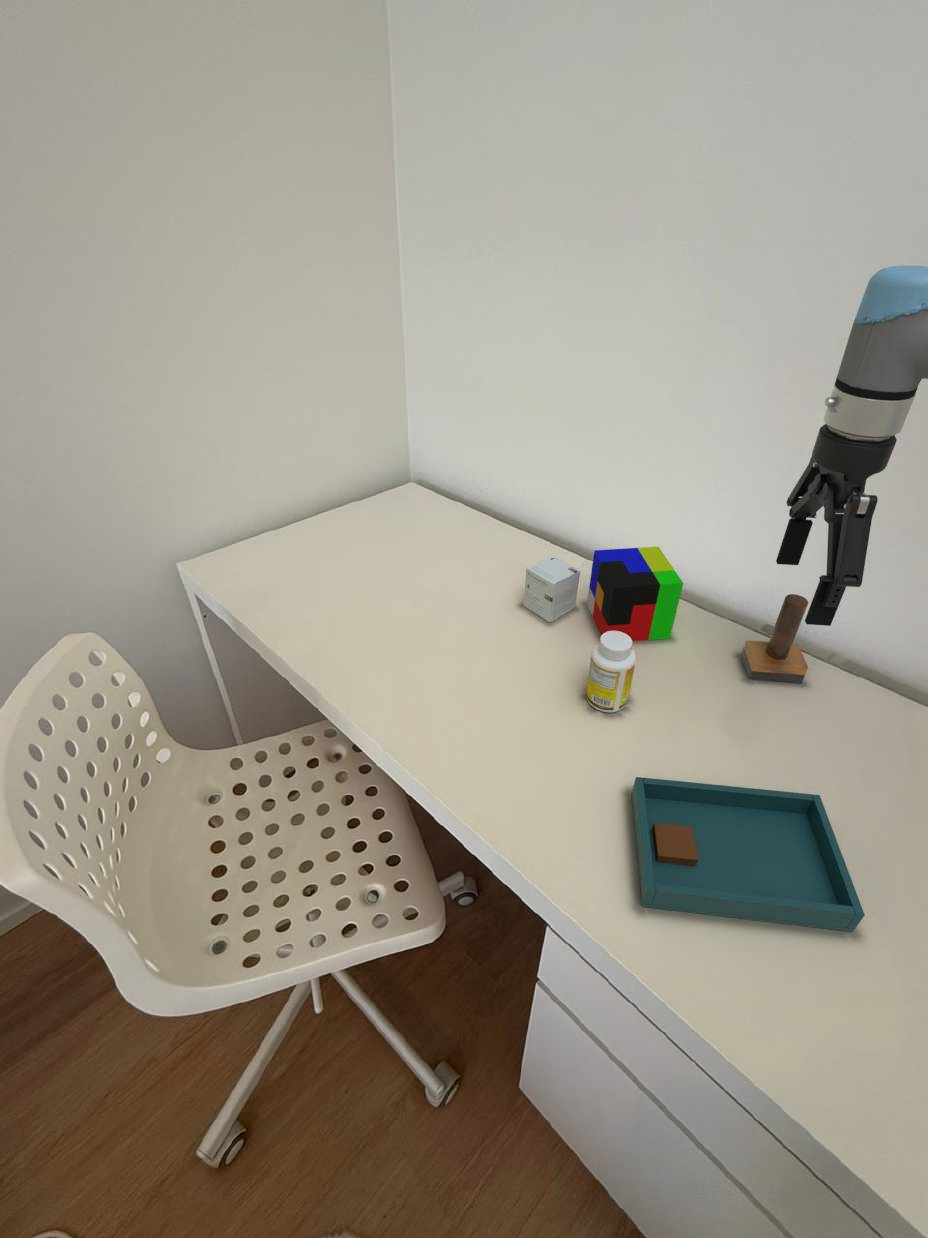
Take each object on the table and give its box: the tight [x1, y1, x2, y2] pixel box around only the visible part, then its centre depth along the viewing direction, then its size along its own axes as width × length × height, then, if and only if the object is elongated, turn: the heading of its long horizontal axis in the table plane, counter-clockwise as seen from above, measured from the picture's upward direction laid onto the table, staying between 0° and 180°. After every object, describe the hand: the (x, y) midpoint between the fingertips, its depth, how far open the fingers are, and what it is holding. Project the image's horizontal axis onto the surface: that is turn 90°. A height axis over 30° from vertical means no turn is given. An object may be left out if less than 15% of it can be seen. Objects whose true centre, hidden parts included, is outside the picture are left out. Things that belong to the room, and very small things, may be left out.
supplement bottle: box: [585, 631, 637, 713], centre depth 83 cm, size 6×6×10 cm
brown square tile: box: [652, 823, 698, 866], centre depth 67 cm, size 4×4×1 cm
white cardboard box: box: [522, 555, 581, 623], centre depth 101 cm, size 6×6×7 cm
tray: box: [631, 776, 866, 933], centre depth 67 cm, size 20×14×3 cm
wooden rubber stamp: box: [740, 593, 809, 684], centre depth 87 cm, size 7×5×12 cm
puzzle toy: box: [586, 546, 684, 642], centre depth 97 cm, size 10×10×10 cm
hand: (801, 591), depth 83 cm, fingers open, 13 cm apart
